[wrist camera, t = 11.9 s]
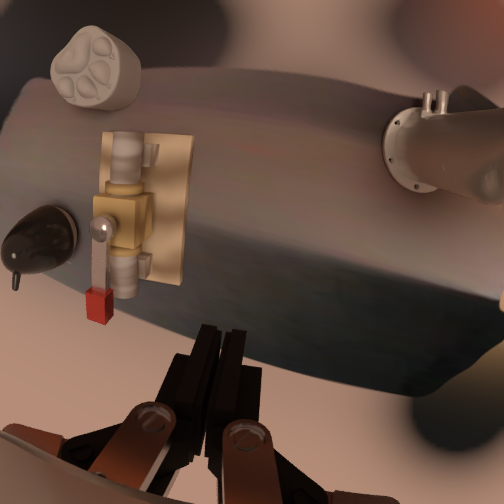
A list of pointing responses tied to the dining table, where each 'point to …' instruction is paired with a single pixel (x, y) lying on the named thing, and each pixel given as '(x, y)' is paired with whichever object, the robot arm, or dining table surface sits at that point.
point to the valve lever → (100, 270)
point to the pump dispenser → (39, 242)
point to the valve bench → (162, 200)
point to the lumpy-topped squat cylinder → (97, 71)
